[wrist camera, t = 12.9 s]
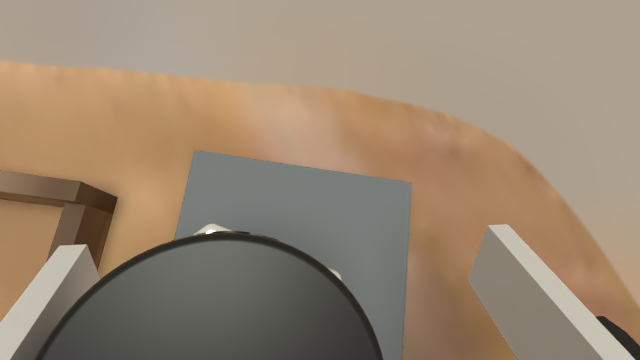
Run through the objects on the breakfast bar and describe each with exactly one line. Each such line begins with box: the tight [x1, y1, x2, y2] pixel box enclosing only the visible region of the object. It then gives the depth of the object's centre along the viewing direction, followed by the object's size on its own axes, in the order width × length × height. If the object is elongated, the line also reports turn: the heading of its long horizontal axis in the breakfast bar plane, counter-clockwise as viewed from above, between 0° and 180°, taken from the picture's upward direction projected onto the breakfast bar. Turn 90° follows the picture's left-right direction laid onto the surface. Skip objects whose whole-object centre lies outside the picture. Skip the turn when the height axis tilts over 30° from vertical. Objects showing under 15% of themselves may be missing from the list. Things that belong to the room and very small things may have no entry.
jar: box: [35, 224, 383, 360], centre depth 13 cm, size 9×8×12 cm
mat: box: [174, 150, 411, 360], centre depth 21 cm, size 14×14×1 cm
